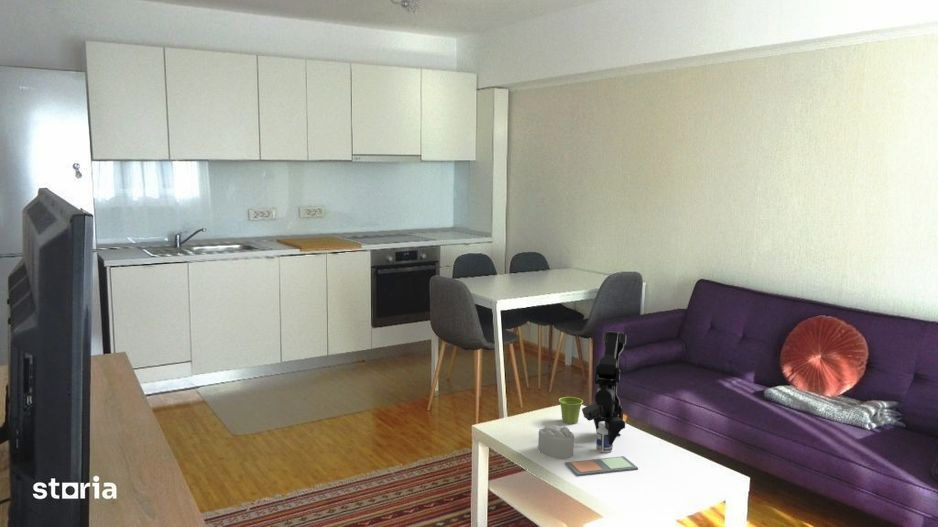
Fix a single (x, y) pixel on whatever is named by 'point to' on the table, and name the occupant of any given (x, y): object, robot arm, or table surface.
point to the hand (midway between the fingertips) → (604, 439)
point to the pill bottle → (603, 439)
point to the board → (601, 466)
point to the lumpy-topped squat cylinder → (556, 442)
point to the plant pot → (570, 409)
